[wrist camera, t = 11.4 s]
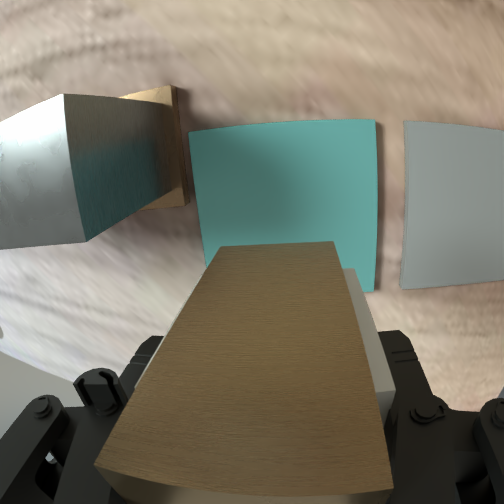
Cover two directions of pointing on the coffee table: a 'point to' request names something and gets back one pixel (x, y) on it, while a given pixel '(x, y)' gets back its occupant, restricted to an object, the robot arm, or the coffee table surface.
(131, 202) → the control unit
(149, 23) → the coffee table surface
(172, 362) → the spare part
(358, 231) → the teal pad
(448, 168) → the grey pad
